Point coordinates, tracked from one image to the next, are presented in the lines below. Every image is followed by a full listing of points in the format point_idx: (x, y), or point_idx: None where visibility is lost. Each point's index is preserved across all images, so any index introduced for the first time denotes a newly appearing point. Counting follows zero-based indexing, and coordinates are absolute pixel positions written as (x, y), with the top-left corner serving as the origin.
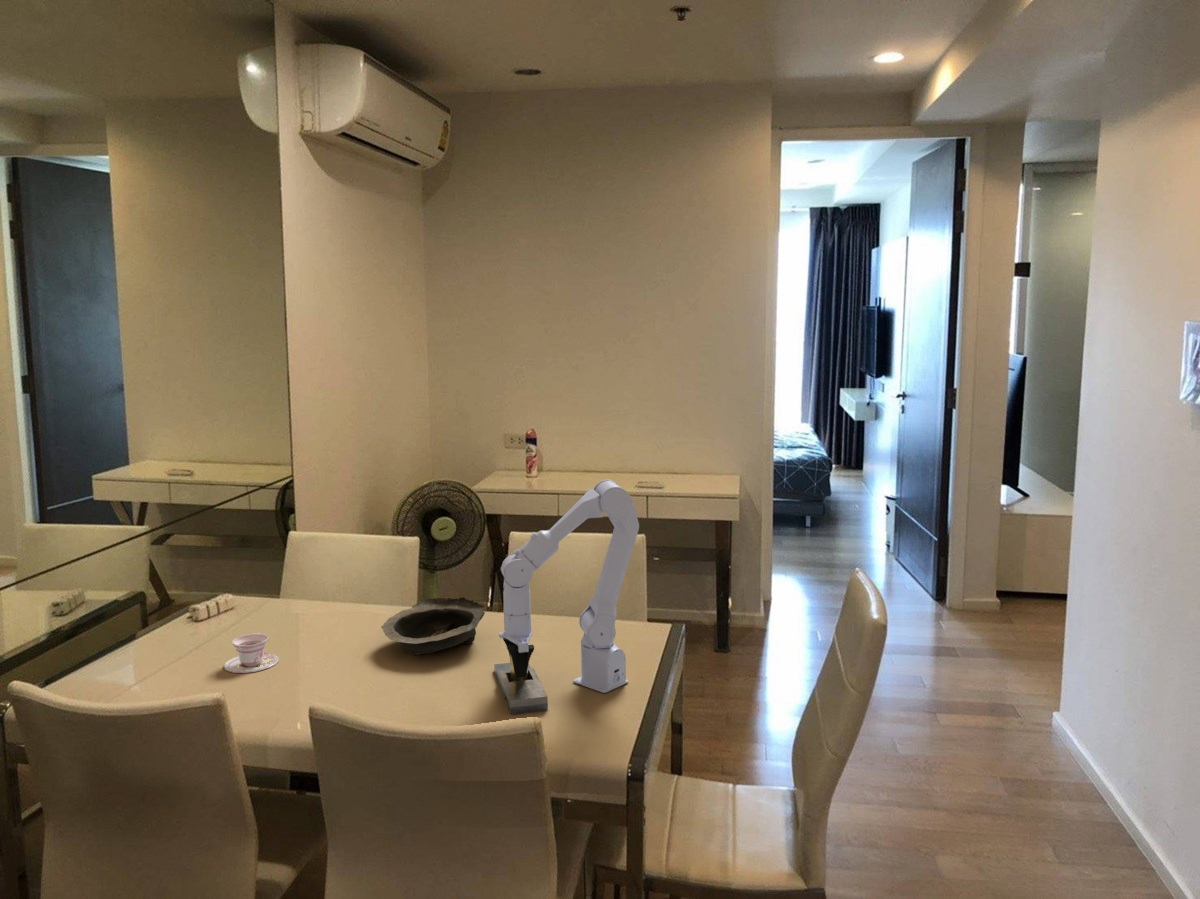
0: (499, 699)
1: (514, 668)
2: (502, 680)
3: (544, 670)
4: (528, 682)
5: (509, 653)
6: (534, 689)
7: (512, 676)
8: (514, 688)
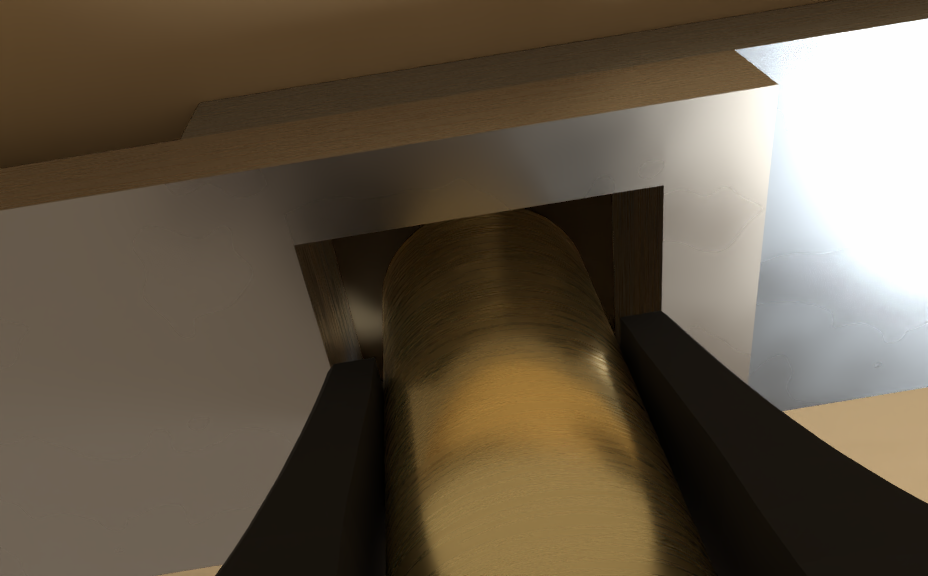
0: (193, 30)
1: (285, 465)
2: (373, 148)
3: (880, 444)
4: (277, 455)
5: (741, 489)
6: (54, 517)
7: (428, 302)
8: (56, 319)
